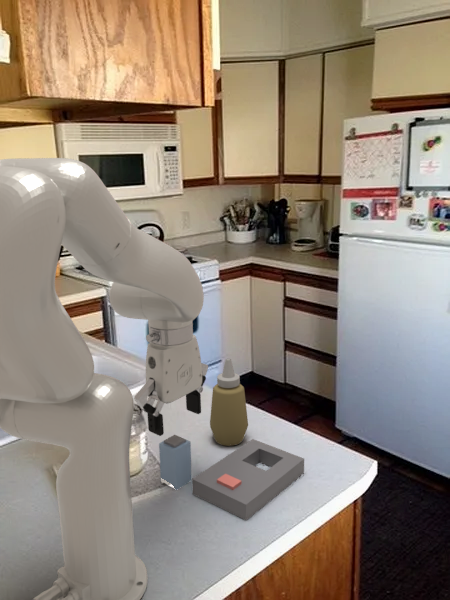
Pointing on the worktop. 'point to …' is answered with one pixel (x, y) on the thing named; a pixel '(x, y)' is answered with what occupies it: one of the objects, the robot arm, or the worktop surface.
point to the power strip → (248, 478)
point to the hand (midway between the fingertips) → (175, 421)
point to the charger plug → (175, 461)
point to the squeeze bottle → (228, 408)
